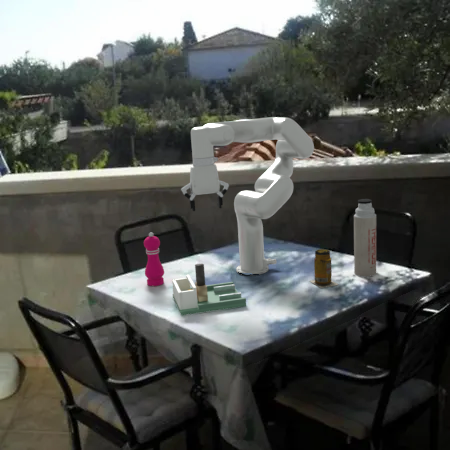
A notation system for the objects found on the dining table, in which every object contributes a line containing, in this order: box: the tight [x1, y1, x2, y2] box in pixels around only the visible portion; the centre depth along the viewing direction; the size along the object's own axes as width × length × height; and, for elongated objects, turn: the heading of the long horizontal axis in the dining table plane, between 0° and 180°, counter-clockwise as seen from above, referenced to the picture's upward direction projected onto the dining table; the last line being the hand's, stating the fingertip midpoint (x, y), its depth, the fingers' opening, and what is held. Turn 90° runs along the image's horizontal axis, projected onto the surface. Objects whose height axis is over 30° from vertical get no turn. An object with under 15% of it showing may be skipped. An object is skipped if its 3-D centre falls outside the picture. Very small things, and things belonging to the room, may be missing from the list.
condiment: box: [309, 248, 339, 289], centre depth 227 cm, size 7×8×12 cm
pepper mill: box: [143, 232, 165, 287], centre depth 236 cm, size 7×7×20 cm
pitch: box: [172, 281, 247, 316], centre depth 217 cm, size 22×18×3 cm
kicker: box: [194, 263, 208, 302], centre depth 215 cm, size 3×6×12 cm, turn 13°
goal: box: [171, 274, 198, 310], centre depth 215 cm, size 6×14×7 cm, turn 13°
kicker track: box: [214, 284, 242, 301], centre depth 218 cm, size 8×10×2 cm
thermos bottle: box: [353, 198, 377, 278], centre depth 232 cm, size 8×8×28 cm
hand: (206, 209), depth 228 cm, fingers open, 9 cm apart
